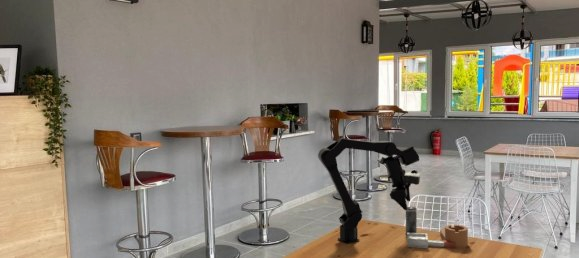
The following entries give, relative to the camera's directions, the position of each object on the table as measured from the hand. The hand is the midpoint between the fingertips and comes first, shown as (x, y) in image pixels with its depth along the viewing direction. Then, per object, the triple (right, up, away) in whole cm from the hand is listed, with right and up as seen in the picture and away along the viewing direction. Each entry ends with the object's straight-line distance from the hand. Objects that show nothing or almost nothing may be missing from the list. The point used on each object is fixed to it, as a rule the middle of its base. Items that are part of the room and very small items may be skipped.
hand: (407, 205), depth 186 cm
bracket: (+17, -14, -4) cm, 23 cm away
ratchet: (+6, -14, -10) cm, 18 cm away
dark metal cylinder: (+3, -13, +5) cm, 14 cm away
